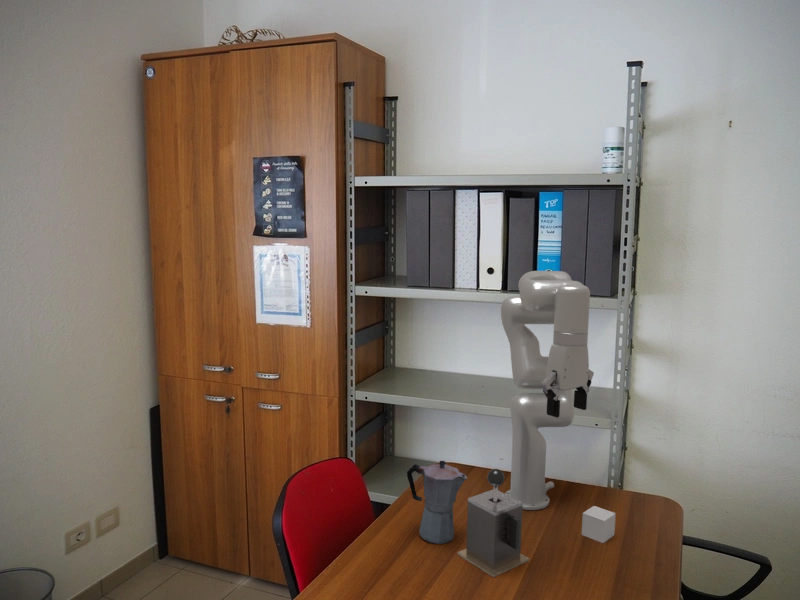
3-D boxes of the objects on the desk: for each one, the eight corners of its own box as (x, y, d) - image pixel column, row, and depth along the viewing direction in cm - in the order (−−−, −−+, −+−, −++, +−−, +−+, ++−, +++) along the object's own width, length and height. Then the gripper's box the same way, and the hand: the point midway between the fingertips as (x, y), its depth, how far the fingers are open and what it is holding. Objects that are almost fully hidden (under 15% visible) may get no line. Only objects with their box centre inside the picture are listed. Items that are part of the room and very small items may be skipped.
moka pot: (463, 548, 153) (465, 470, 150) (401, 541, 156) (402, 464, 153) (467, 530, 162) (469, 456, 160) (408, 523, 165) (410, 450, 163)
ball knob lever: (493, 527, 153) (495, 462, 151) (513, 538, 148) (515, 470, 146) (474, 535, 149) (476, 468, 147) (494, 546, 144) (496, 477, 142)
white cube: (614, 535, 161) (615, 513, 160) (603, 543, 157) (604, 521, 156) (592, 527, 165) (594, 505, 164) (581, 535, 161) (582, 512, 160)
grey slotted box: (492, 539, 157) (494, 485, 156) (533, 563, 147) (536, 505, 145) (457, 554, 150) (459, 497, 148) (497, 580, 140) (500, 519, 138)
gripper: (580, 332, 150) (576, 402, 152) (532, 340, 139) (528, 414, 142) (607, 337, 144) (603, 409, 146) (559, 346, 133) (555, 423, 136)
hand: (566, 412), depth 144 cm, fingers open, 9 cm apart
